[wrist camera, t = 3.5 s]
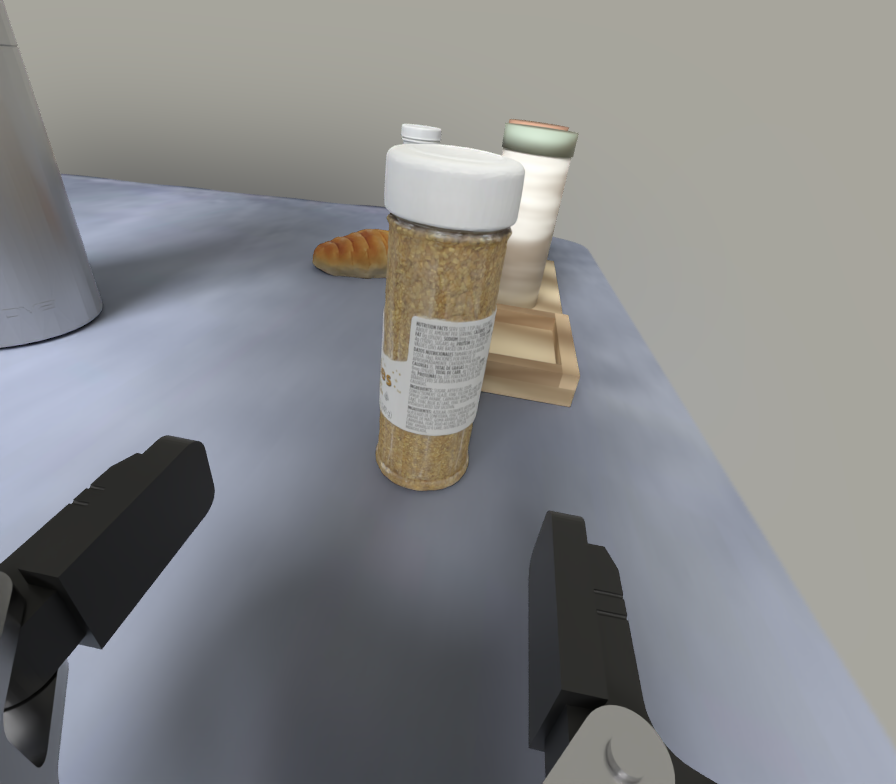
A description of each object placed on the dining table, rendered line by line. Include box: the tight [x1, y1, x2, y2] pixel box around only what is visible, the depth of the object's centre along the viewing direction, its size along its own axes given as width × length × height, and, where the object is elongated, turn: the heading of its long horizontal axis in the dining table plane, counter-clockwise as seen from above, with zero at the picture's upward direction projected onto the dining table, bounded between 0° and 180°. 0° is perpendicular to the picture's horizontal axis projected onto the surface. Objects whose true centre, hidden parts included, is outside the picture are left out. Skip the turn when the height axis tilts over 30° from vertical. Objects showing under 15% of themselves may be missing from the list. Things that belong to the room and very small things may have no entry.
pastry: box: [313, 229, 389, 279], centre depth 43 cm, size 9×7×4 cm
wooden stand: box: [481, 119, 580, 407], centre depth 35 cm, size 26×9×14 cm, turn 171°
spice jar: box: [376, 144, 525, 491], centre depth 18 cm, size 5×5×14 cm
